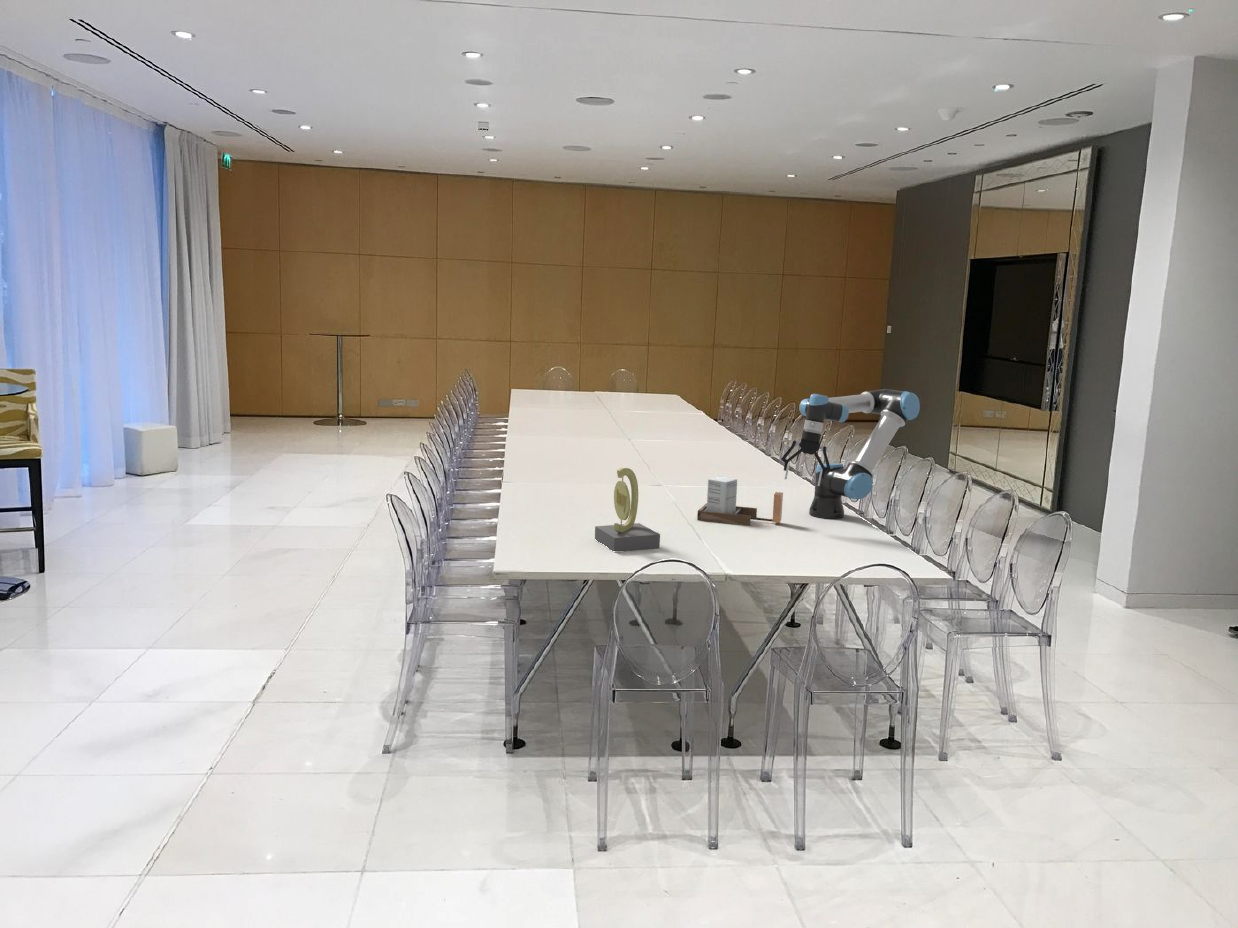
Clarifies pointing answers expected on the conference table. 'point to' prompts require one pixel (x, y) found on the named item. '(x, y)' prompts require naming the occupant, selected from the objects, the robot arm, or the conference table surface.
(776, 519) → the pusher tool
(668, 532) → the conference table surface
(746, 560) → the conference table surface
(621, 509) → the trophy
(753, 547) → the conference table surface
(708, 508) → the supplement box
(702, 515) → the tray
